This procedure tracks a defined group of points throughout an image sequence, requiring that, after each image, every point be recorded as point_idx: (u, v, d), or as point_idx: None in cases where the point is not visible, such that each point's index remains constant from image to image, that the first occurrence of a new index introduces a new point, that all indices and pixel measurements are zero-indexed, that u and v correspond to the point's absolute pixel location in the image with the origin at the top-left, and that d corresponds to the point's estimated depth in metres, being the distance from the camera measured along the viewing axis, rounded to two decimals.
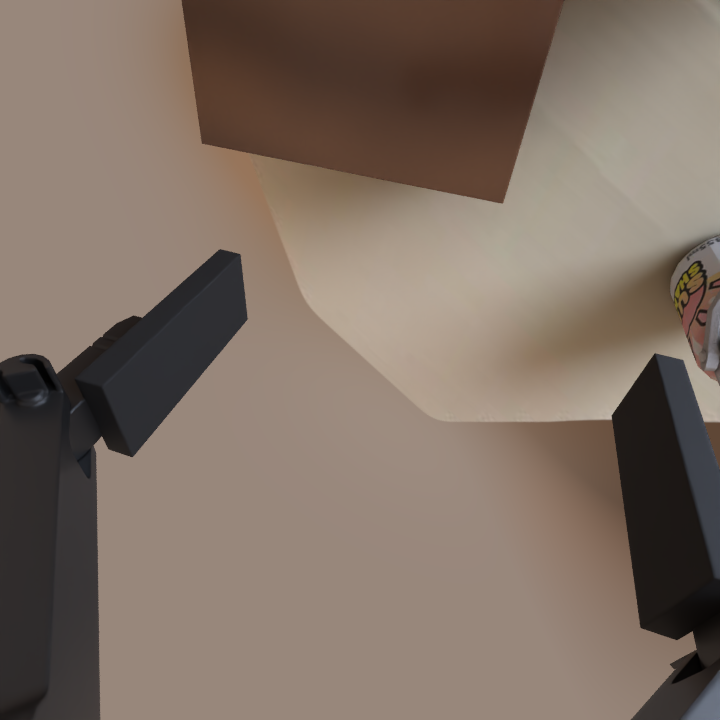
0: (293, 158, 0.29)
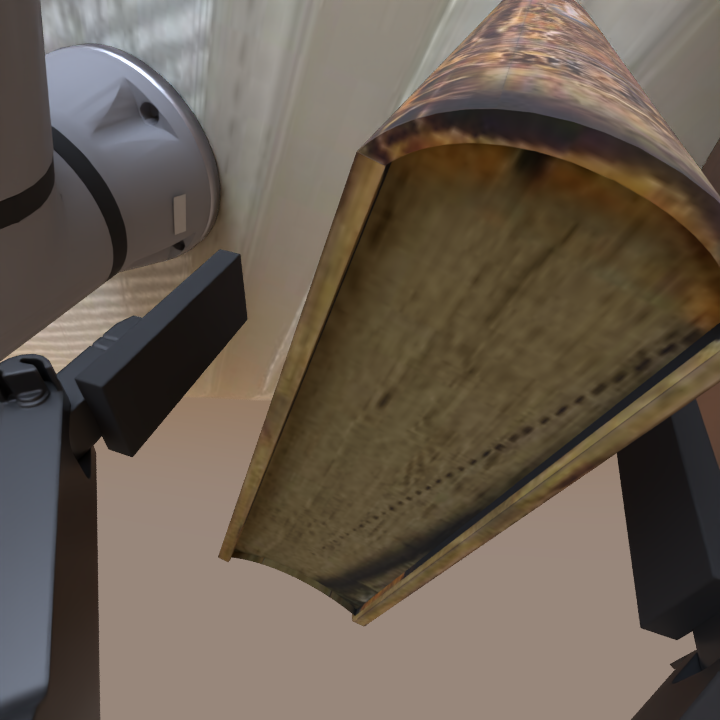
0: None
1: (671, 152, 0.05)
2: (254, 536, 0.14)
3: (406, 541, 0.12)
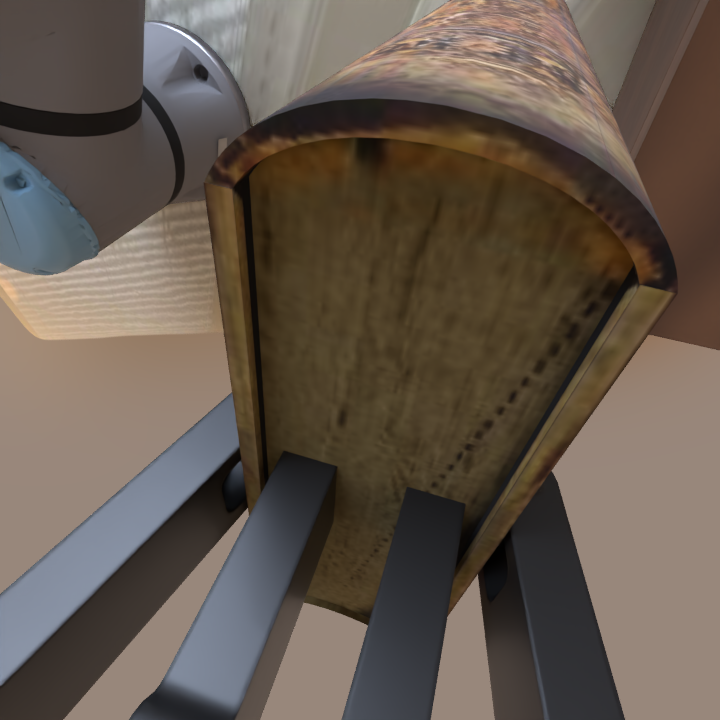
0: None
1: (510, 100, 0.05)
2: None
3: None
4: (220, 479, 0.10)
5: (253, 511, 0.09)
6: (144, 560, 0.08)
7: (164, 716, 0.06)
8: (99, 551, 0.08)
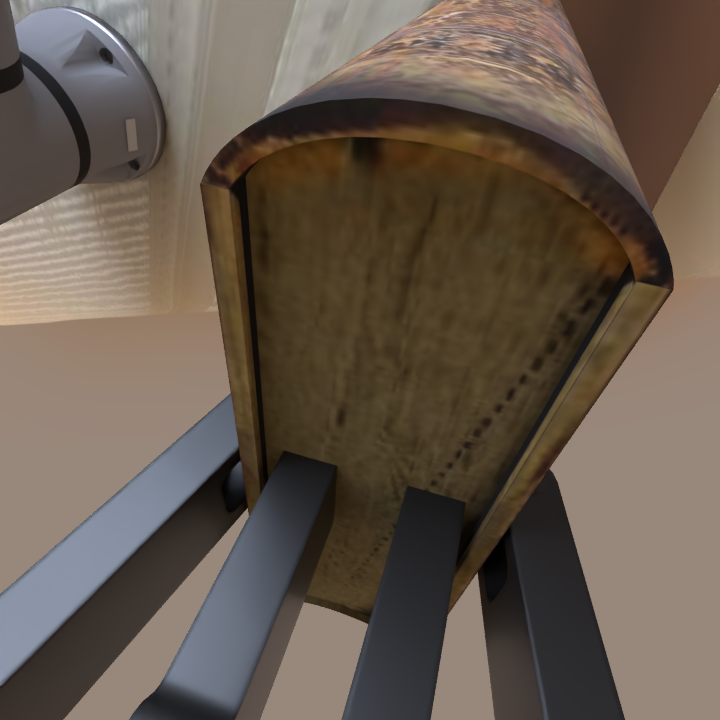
0: None
1: (505, 98, 0.05)
2: None
3: None
4: (220, 479, 0.10)
5: (253, 511, 0.09)
6: (144, 560, 0.08)
7: (164, 716, 0.06)
8: (100, 551, 0.08)
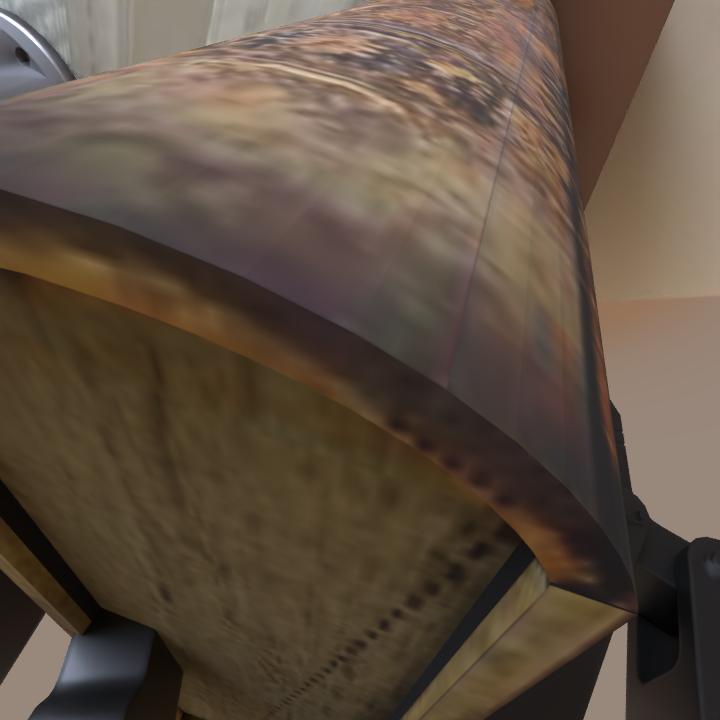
0: None
1: (245, 155, 0.02)
2: (187, 704, 0.12)
3: None
4: None
5: None
6: None
7: (64, 708, 0.06)
8: None
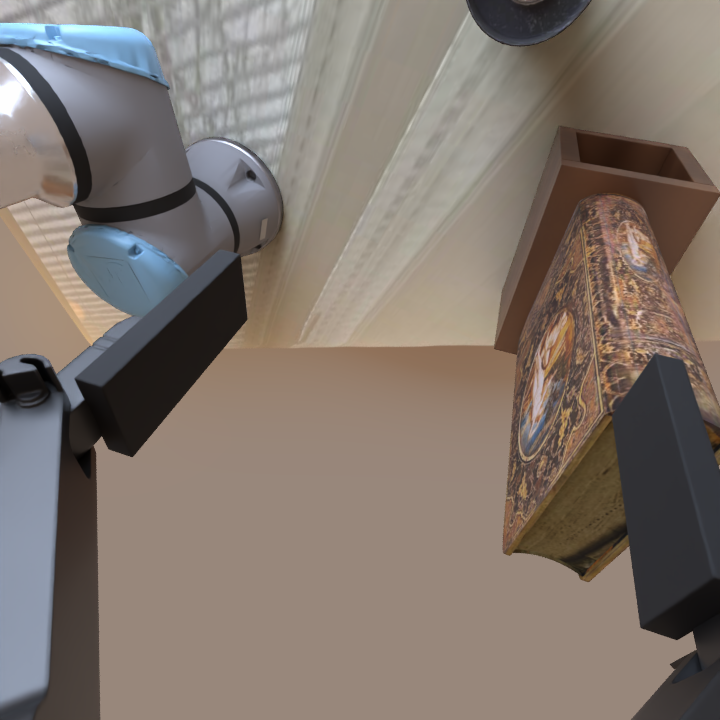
0: None
1: None
2: (526, 539, 0.29)
3: (614, 529, 0.26)
4: None
5: None
6: None
7: None
8: None
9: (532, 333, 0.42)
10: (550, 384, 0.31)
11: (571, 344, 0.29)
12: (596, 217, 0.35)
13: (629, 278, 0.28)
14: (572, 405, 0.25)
